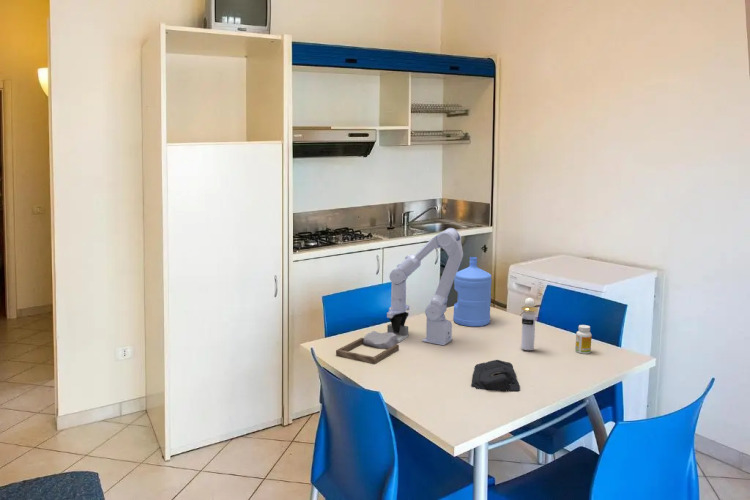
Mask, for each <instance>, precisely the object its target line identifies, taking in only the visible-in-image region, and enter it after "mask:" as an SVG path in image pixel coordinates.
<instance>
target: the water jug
mask: <svg viewBox="0 0 750 500" xmlns="http://www.w3.org/2000/svg"><path fill="white" fill-rule="evenodd" d="M492 282H493V281H492V275H491V273H489V272H488V271H485V270H484V269H481V268H480V267H478V257H476V256H470V257H469V266H468V267H466V268H463V269H461V270H458V271H457V273H456V276H455V279H454V281H453V284H454V285H453V287H454V290H455V291H456V292H457V302H455V303H454V305H453V316H452V318H453V319H452V320H453V322H454V323H456V324H457V325H460V326H464V327H471V328H472V327H483V326H487V325H489V324H490V322H491V303H492V296H491V295H492V293H491V291H492Z"/></svg>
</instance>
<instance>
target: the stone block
mask: <svg viewBox="0 0 750 500" xmlns="http://www.w3.org/2000/svg"><path fill="white" fill-rule="evenodd" d="M363 338H364V339H363V343H364V344H363V345H366V346H369V347H373V348H377V349H379V350H380V349H384V350H387V349H389V348H390V347H392V346H394V345H396V344H397V343H398V342H397V336H396V334H394V333H392V332H387V331H386V332H383V333H381V332H378V331H376V330H373V331H371V332H368V333H367V334H365V335H364V337H363Z"/></svg>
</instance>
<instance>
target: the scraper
mask: <svg viewBox="0 0 750 500" xmlns="http://www.w3.org/2000/svg"><path fill="white" fill-rule="evenodd" d="M386 328H387V331H386V332H392V333H394V334H396V336H397V343H401V342H402V341H404V340H405V339H407V338H409V326H407V325H404V326H402V325H400V330H399V333H395V332H394V331H393V327H392V324H391V323H388V324H387V326H386Z"/></svg>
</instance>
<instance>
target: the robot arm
mask: <svg viewBox="0 0 750 500" xmlns="http://www.w3.org/2000/svg"><path fill="white" fill-rule="evenodd" d="M440 248H441V249H443V250H444V251H445V253H446V254H447V256H448V259H447V261H446V264H445V266H444V268H443V271H442V274H441V277H440V279H439V283H438V285H437V288H436V291H435V293H434V294H433V297H432V299H431V301H430V303H429V304H428V305H427V306H426V307H425V310H424V314H425V317H426V325H425V326H426V331H425V332H426V333H425V334H426V336H425V338H423V339H422V340H421V341H422V342H424V343H429V344H435V345H439V346H445V345H447V344H448V343H450V342H451V341H453V338H452V337H453V336H452V335H453V324H452V321H451V320H448V319H446V316H445V315H446V314H445V313H446V311H447V310H448V306H447V303H448V300H449V299H448V298H449V297H448V296H449V294H450V291H451V290H452V286H453V284H454V279H455V276H456V273H457V272H458V271H459V268H460V265H461V263H462V260H463V257H464V251H463V245H462V237H461V235H460V233H459V231H458V230H457V229H455V228H453V227H448V228H446V229H445V230H442V231H441V232H439V233H438V234H436V235H435V236H433V237H432V238H431V239H429V241H428V242H426V244H425V245H423V247H422V248H420V249H419V251H417V253H415V254H409V255H406V256H405V257H404V260H403V261H402V262H401V263H398V264H397V265H396V268H394V269H392V270H391V272H389V276H388V277H389V280H390V283H391V288H390V289H391V292H390V293H391V294H390V297H391V299H390V300H391V301H390V306H389V308H388V312H386V318H387V319H389V321H390V324H392V327H393V331H394V332H395V333H399V330H400V325H402V326H405V324H406V321H407V319H408V317H409V314H410V313H409V312H407V311H409V310H410V305H409V304H406V303H407V279H408V278H409V276H411V275H412V274H413V273H414V272H415V271H416V270H417V269H419V268H420V267H421V262H422V260H423V259H424V258H425V257H427V256H428V255H429V254H430V253H431V252H433V251H434V250H435V249H440Z"/></svg>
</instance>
